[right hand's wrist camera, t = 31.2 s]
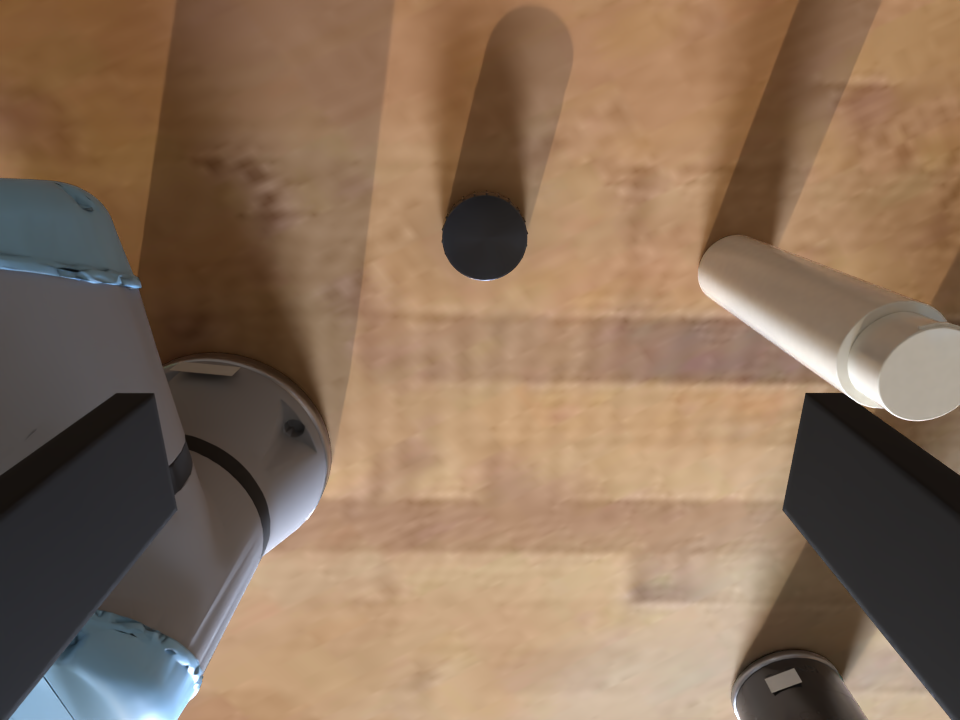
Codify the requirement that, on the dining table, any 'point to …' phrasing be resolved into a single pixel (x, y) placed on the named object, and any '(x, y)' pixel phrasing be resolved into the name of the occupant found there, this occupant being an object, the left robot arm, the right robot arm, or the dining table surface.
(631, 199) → the dining table surface
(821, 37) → the dining table surface
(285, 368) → the dining table surface
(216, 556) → the right robot arm
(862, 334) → the cream cylindrical bottle
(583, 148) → the dining table surface
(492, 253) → the lid
